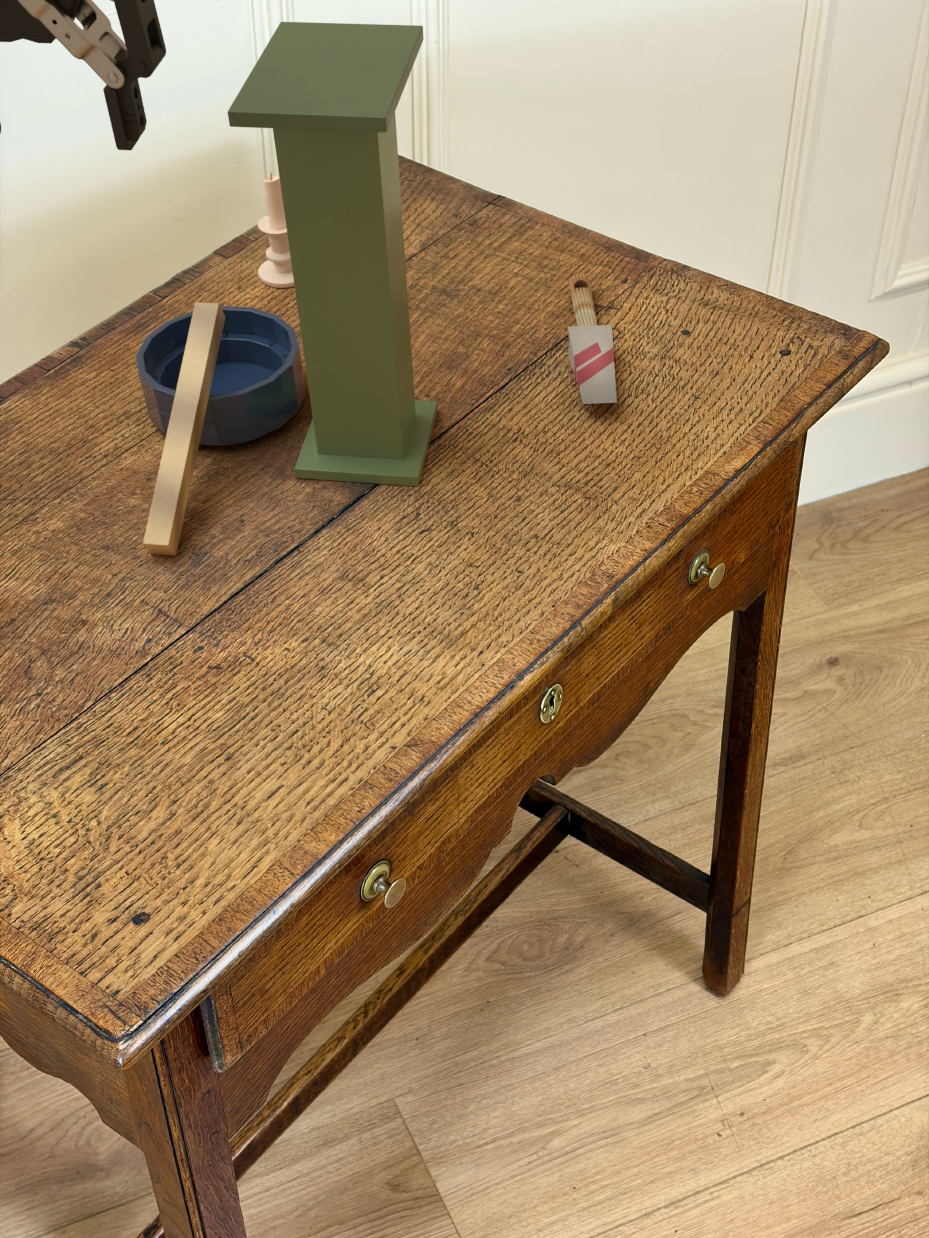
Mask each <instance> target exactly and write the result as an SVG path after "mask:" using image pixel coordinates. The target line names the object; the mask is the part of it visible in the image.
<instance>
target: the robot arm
mask: <svg viewBox="0 0 929 1238" xmlns="http://www.w3.org/2000/svg"><path fill="white" fill-rule="evenodd" d="M110 1H111V2H113V3H114V7H115V11H116V14H117V19H118V23H119V26H120V29H121V33H122V36H123V39H121V37H120V36H119V35H118V34H117V33H116V32H115V31H114V29H113V28H112V22H111V20H110V19H109V17H108V16H107V15H106V14H105V13H104V11H102V9H100V8H99V6H98V4H96V3H95V2H94V1H93V0H0V43H13V42H16V41H19V40H26V41H30V42H33V43H36V44H53V42H55V40H57V41H58V42H59V43H60V44H61V45H62V46H63V47H64V48H65V49H66V50H67V51H68V52H69V54H70V55H71V56H72V57H74V58H75V59H77V60H82V61H84V62H85V63H86V64H87V66H88V67H90V69H91V70H92V71H93V72H94V73H95V74H96V75H97V76H98V77H99V78H100V79H101V80H102V81H103V82H104V84H106V85H105V86H104V88H103V89H102V91H103V95H104V99H105V100H104V101H105V103H106V104H105V105H106V108H107V112H108V116H109V121H110V125H111V130H112V134H113V137H114V142H115V147H116V149H117V150H118V151H132V150H133V149H134V147H135V146H136V144H137V143H138V141H139V140H140V138H141V137H142V135H143V133H144V132H145V130H146V127H147V122H148V121H147V116H146V112H145V106H144V101H143V97H142V92H141V88H140V83H139V79H140V78H142V79H147V78H150V77H151V76H152V75H153V73H154V72H155V71H156V69H157V68H158V67H159V65H160V64H161V62H162V61H163V60H164V58H165V57H166V55H167V48H166V44H165V39H164V34H163V31H162V27H161V22H160V19H159V15H158V11H157V8H156V4H155V0H110ZM75 20H77V21H78V22H79V23H80V24H81V25H82V28H81V27H80V26H79V25H77V23H76V22H75ZM1 133H2V123H1V122H0V134H1Z"/></svg>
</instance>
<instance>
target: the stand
mask: <svg viewBox="0 0 929 1238" xmlns="http://www.w3.org/2000/svg"><path fill="white" fill-rule="evenodd" d="M423 42H424V26H423V25H415V24H413V25H412V24H411V25H410V24H408V25H406V24H380V23H379V24H377V23H376V24H375V23H374V24H373V23H341V22H338V23H336V22H307V21H306V22H305V21H304V22H303V21H299V22H298V21H280V22H279V24H278V26H277V28H276V29H275V31H274V33H273V34H272V35H271V38H270V39H269V41H268V42H267V44H266V46H265V48H264V50H263V51H262V53H261V54H260V56H259V58H257V59H258V60H257V61H256V63H255V64H254V66H253V68H252V70H251V72H250V73H249V75H248V77H247V78H246V80H245V81H244V83H243V84H242V87H241V88H240V89H239V91H238V93H237V95H236V96H235V98H234V100H233V102H232V103H231V105H230V106H229V108H228V109H227V119H228V123H229V127H231V128H252V129H253V128H255V129H257V128H258V129H272V133H273V140H274V146H275V154H276V161H277V162H276V163H277V169H278V176H279V177H280V185H281V192H282V199H283V206H284V214H285V221H286V228H287V235H288V242H289V250H290V257H291V264H292V271H293V278H294V292H295V293H294V294H295V301H296V306H297V314H298V321H299V328H300V335H301V342H302V350H303V356H304V363H305V372H306V378H307V386H308V392H309V399H310V409H311V415H312V418H311V421H310V424H309V427H308V429H307V432H306V435H305V437H304V440H303V443H302V446H301V449H300V450H299V451H300V452H299V454H298V457H297V460H296V463H295V465H294V467H293V470H294V477H295V479H306V480H317V481H318V480H319V481H332V482H345V483H346V482H347V483H348V482H349V483H361V484H374V485H375V484H376V485H389V486H402V487H403V486H405V487H419V485H420V482H421V478H422V475H423V470H424V466H425V462H426V458H427V455H428V450H429V446H430V442H431V439H432V435H433V431H434V428H435V427H434V426H435V423H436V420H437V419H436V418H437V415H438V410H439V409H438V408H439V407H438V401H436V400H421V399H416V398H415V384H414V383H415V382H414V371H413V369H414V367H413V354H412V353H413V352H412V339H411V324H410V311H409V309H410V308H409V295H408V282H407V281H408V280H407V268H406V252H405V237H404V221H403V207H402V195H401V194H402V193H401V180H400V178H401V177H400V176H401V175H400V163H399V148H398V133H397V120H396V110H397V108H398V106H399V102H400V100H401V98H402V95H403V93H404V90H405V87H406V85H407V83H408V80H409V77H410V74H411V73H412V70H413V67H414V65H415V62H416V60H417V57H418V55H419V52H420V50H421V47H422V45H423Z"/></svg>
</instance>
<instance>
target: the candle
mask: <svg viewBox="0 0 929 1238" xmlns="http://www.w3.org/2000/svg"><path fill="white" fill-rule="evenodd" d="M263 185H264V193H265V194H264V196H265V203H266V211H267V215H265V216H262V217H261V218H260V219H259V220H258V222H257V228H258V230H259V231H260V232H262V233H265V234H268V242H269V247H267V249H266V250H265V257H266V259H267V260H265V261H264V262H263V263H261V265H259V268H258V270H257V275H258V276H257V277H258V279H259V281H260V282H261V283H263V284H264V285H266V286H268V287H272V288H277V289H278V288H279V289H289V288H295V286H294V278H293V271H292V264H291V257H290V250H289V242H288V235H287V228H286V221H285V214H284V206H283V199H282V192H281V185H280V177H279V175H273V173H272V172H270V176H268V177H266V178H265V179H263Z"/></svg>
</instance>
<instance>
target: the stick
mask: <svg viewBox="0 0 929 1238" xmlns="http://www.w3.org/2000/svg"><path fill="white" fill-rule="evenodd" d="M221 306H222V305H221V304H220V303H219V302H205V301H203V302H200V301H195V302H194V306H193V309H192V311H193V314H192V319H191V323H190V328H189V333H188V337H187V342H186V347H185V351H184V356H183V360H182V365H181V370H180V374H179V379H178V383H177V388H176V393H175V397H174V402H173V406H172V411H171V416H170V420H169V425H168V429H167V434H166V435H165V438H164V439H165V440H164V444H163V449H162V453H161V456H160V457H161V458H160V463H159V466H158V471H157V476H156V481H155V485H154V490H153V495H152V498H151V503H150V508H149V513H148V518H147V522H146V527H145V532H144V535H143V540H142V545H143V546H144V547H145V548H146V550H147V551H148V553H149V554H151V555H161V556H173V557H176V556H177V553H178V548H179V543H180V540H181V533H182V529H183V524H184V519H185V515H186V511H187V510H186V509H187V505H188V501H189V495H190V490H191V486H192V480H193V476H194V471H195V466H196V461H197V456H198V452H199V447H200V444H199V442H200V438H201V433H202V428H203V423H204V418H205V413H206V409H207V404H208V399H209V394H210V389H211V385H212V380H213V375H214V370H215V365H216V360H217V356H218V351H219V346H220V341H221V336H222V331H223V327H224V322H225V315H224V313H223V311H222V309H221Z"/></svg>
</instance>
